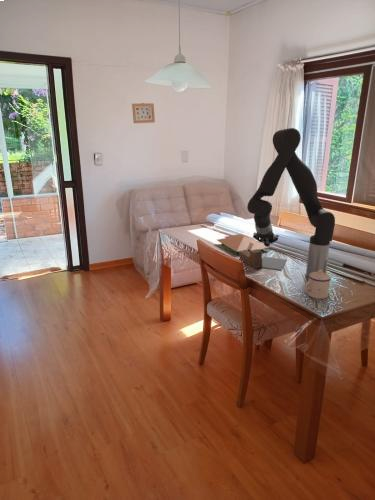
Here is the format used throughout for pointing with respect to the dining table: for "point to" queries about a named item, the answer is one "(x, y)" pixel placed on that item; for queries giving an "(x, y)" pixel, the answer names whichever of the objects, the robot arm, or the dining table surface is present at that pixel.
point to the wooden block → (252, 258)
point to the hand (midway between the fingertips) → (267, 245)
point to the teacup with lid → (318, 284)
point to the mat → (273, 263)
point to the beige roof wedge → (241, 243)
